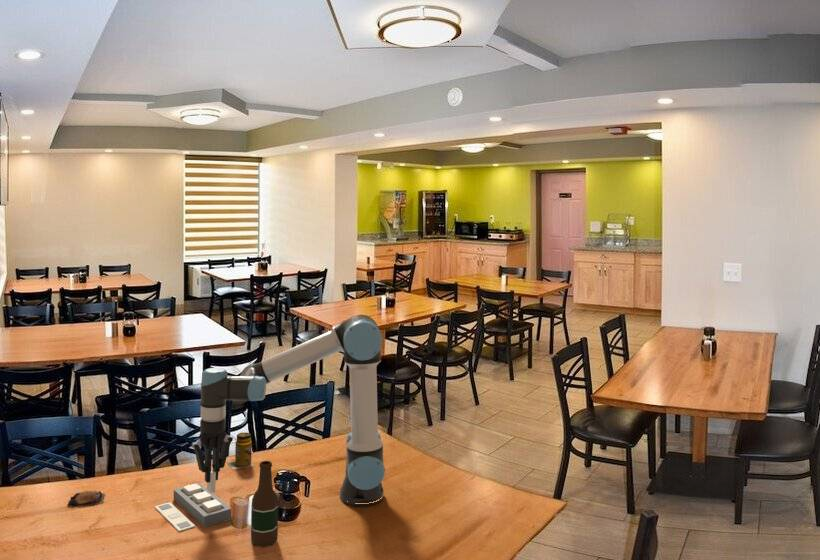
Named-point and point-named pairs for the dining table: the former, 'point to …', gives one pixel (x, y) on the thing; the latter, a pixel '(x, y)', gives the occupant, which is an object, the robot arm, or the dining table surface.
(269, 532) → the beer bottle
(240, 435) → the condiment
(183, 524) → the pattern card
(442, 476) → the dining table surface
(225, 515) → the console
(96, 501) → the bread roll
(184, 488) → the button
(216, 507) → the button
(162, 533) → the dining table surface
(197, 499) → the middle button
